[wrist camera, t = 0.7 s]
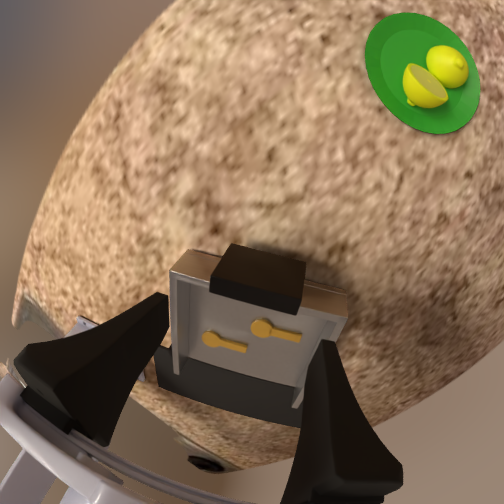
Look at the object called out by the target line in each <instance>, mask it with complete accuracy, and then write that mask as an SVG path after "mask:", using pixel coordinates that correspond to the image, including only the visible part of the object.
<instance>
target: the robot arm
mask: <svg viewBox="0 0 504 504" xmlns="http://www.w3.org/2000/svg"><path fill="white" fill-rule="evenodd" d="M77 322H78V323H77V324H76V325H75V326H74V327H73V328H72V329H71V330H70V331H69V332H68V334H67V335H66V336H65V337H64V338H61V339H57V340H52V341H47V342H40V343H33V344H28V345H27V346H26V347H25V348H24V349H23V350H22V351H21V353H20V354H19V355H18V356H17V357H16V358H15V359H14V365H15V367H16V369H17V370H18V372H19V374H20V375H21V377H22V378H23V379H24V381H25V382H26V384H27V387H26V388H25V389H24V387H23V386H22V385H21V384H20V383H19V382H18V381H16V380H15V379H14V378H13V377H12V376H11V375H10V374H9V373H7V374H6V375H5V376H4V377H3V379H2V380H1V381H0V424H1V426H2V427H3V428H4V429H5V430H6V431H7V432H8V433H9V434H10V435H11V436H12V437H13V438H14V439H15V440H16V441H17V442H18V443H19V444H20V445H21V446H22V448H23V449H22V451H21V452H20V454H19V456H18V457H17V459H16V460H15V462H14V463H13V465H12V466H11V468H10V470H9V471H8V473H7V474H6V476H5V478H4V479H3V481H2V482H1V484H0V504H40V503H41V502H42V500H43V498H44V497H45V495H46V494H47V492H48V490H49V489H50V487H51V485H52V484H53V482H54V481H55V479H56V478H57V477H58V478H59V479H60V480H62V481H63V482H64V483H66V484H67V485H68V486H69V488H68V490H67V491H66V493H65V495H64V497H63V498H62V500H61V502H60V504H162V503H160V502H157V501H155V500H152V499H150V498H148V497H145V496H143V495H141V494H139V493H136V492H134V491H132V490H130V489H128V488H126V487H124V486H122V485H123V480H121V479H120V478H118V477H117V476H115V475H114V474H113V473H112V472H111V471H110V470H109V469H107V468H105V467H104V466H102V465H101V464H99V463H98V461H100V462H102V463H103V464H105V465H107V466H109V467H110V468H112V469H115V470H116V471H118V472H120V473H122V474H124V475H126V476H128V477H130V478H132V479H134V480H136V481H138V482H140V483H143V484H145V485H147V486H149V487H151V488H154V489H156V490H159V491H161V492H164V493H166V494H169V495H171V496H174V497H177V498H179V499H182V500H185V501H188V502H191V503H194V504H255V503H249V502H245V501H240V500H236V499H232V498H228V497H224V496H220V495H217V494H213V493H210V492H206V491H203V490H200V489H197V488H194V487H191V486H188V485H185V484H182V483H179V482H177V481H174V480H171V479H169V478H166V477H164V476H161V475H159V474H157V473H154V472H152V471H150V470H147V469H145V468H143V467H141V466H138V465H136V464H134V463H132V462H130V461H128V460H126V459H124V458H122V457H120V456H118V455H116V454H115V453H113V452H111V451H109V450H107V449H108V447H109V445H110V443H111V438H112V435H113V432H114V429H115V426H116V424H117V421H118V419H119V417H120V414H121V412H122V409H123V407H124V405H125V402H126V401H127V398H128V396H129V394H130V392H131V390H132V388H133V386H134V384H135V382H136V381H137V379H138V380H140V381H142V382H144V381H145V376H144V372H143V370H144V368H145V367H146V365H147V364H148V362H149V361H150V359H151V358H152V356H153V355H154V353H155V352H156V350H157V349H158V347H159V346H160V344H161V343H162V341H163V339H164V337H165V335H166V333H167V330H168V328H169V302H168V295H165V294H162V293H159V292H156V293H155V294H153V295H151V296H149V297H148V298H146V299H145V300H143V301H141V302H140V303H138V304H137V305H135V306H133V307H132V308H130V309H128V310H127V311H125V312H123V313H121V314H120V315H118V316H116V317H114V318H112V319H110V320H108V321H107V322H105V323H103V324H100V325H97V324H95V323H92V322H90V321H89V320H87V319H85V318H83V317H81V316H78V317H77ZM402 485H403V468H402V464H401V463H400V462H399V461H398V460H397V459H396V458H395V457H394V456H393V455H392V454H391V453H390V452H389V450H388V449H387V448H386V447H385V445H384V444H383V443H382V442H381V440H380V439H379V438H378V436H377V434H376V433H375V432H374V430H373V429H372V427H371V426H370V424H369V422H368V421H367V419H366V417H365V416H364V414H363V412H362V410H361V408H360V406H359V404H358V402H357V400H356V398H355V396H354V393H353V391H352V389H351V386H350V384H349V381H348V379H347V376H346V373H345V371H344V368H343V365H342V362H341V359H340V356H339V353H338V349H337V346H336V343H335V341H330V340H326V339H321V341H320V343H319V345H318V347H317V349H316V351H315V353H314V355H313V357H312V359H311V361H310V363H309V365H308V369H307V374H306V380H305V385H304V397H303V409H302V421H301V430H300V436H299V440H298V445H297V449H296V453H295V457H294V461H293V465H292V469H291V472H290V476H289V479H288V482H287V485H286V488H285V491H284V494H283V497H282V500H281V502H280V504H380V503H383V502H384V495H387V494H389V493H391V492H393V491H396V490H398V489H399V488H400V487H401V486H402Z"/></svg>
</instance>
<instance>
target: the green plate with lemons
mask: <svg viewBox="0 0 504 504" xmlns="http://www.w3.org/2000/svg"><path fill="white" fill-rule="evenodd" d="M365 62H366V69H367V72H368V76H369V79H370V81H371V84H372V86H373V88H374V90H375V92H376V93H377V95H378V96H379V98H380V99H381V101H382V102H383V104H384V105H385V106H386V107H387V108H388V109H389V110H390V111H391V112H392V113H393V114H394V115H395V116H396V117H398V118H399V119H400V120H401V121H403V122H404V123H406V124H408V125H409V126H411V127H413V128H415V129H418V130H420V131H423V132H427V133H433V134H445V133H449V132H453V131H456V130H458V129H459V128H461V127H463V126H464V125H465V124H466V123H467V122H468V121H469V120H470V119H471V118H472V116H473V115H474V113H475V111H476V109H477V106H478V103H479V97H480V79H479V75H478V71H477V67H476V65H475V62H474V60H473V58H472V56H471V54H470V52H469V51H468V49H467V47H466V46H465V45H464V43H463V42H462V41H461V40H460V39H459V37H458V36H457V35H456V34H455V33H453V32H452V31H451V30H450V29H449V28H448V27H446V26H445V25H443V24H442V23H440V22H438V21H437V20H434V19H432V18H430V17H428V16H425V15H421V14H417V13H398V14H393V15H391V16H388V17H386V18H384V19H382V20H381V21H380V22H379V23H377V24H376V25H375V27H374V28H373V30H372V31H371V32H370V34H369V37H368V40H367V42H366V49H365Z"/></svg>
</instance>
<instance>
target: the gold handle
mask: <svg viewBox="0 0 504 504" xmlns="http://www.w3.org/2000/svg"><path fill="white" fill-rule="evenodd" d="M169 356H171V357H173V356H172V344H171V346H170V347H169Z"/></svg>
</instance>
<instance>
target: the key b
mask: <svg viewBox="0 0 504 504" xmlns="http://www.w3.org/2000/svg"><path fill="white" fill-rule="evenodd" d="M251 331H252V333H253V334H254V335H256V336H258V337H261V338H266V337H269V336H274V337H278V338H281V339H286V340H290V341H294V342H298V343H299V342H300V340H301V337H302V334H300V333H296V332H292V331H288V330H284V329H280V328H276V327H273V325H272V324H271V323H270V322H269V321H267V320H264V319H257V320H255V321H253V322H252V324H251Z"/></svg>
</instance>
